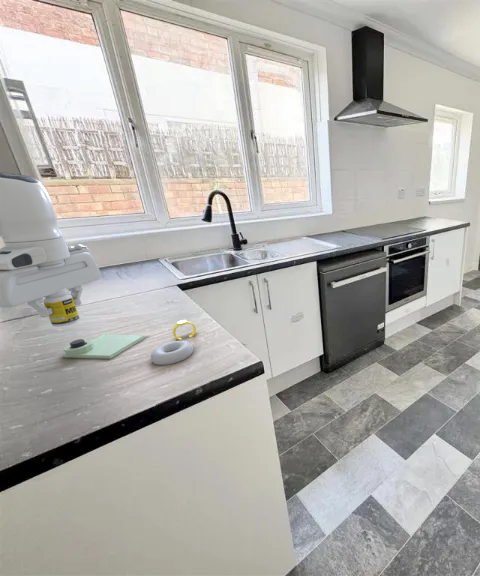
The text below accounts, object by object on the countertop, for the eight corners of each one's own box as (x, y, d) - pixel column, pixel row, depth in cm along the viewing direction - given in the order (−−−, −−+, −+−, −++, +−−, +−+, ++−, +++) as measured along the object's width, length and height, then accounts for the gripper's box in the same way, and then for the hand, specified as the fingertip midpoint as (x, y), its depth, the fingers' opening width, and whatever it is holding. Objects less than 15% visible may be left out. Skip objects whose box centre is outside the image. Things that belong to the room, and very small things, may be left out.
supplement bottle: (73, 325, 71) (60, 291, 68) (47, 328, 70) (33, 293, 67) (84, 317, 75) (73, 284, 73) (60, 320, 74) (47, 287, 71)
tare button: (68, 348, 87) (66, 344, 87) (79, 343, 90) (77, 338, 89) (78, 349, 87) (76, 344, 86) (88, 343, 90) (87, 339, 89)
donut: (185, 365, 83) (199, 346, 92) (182, 354, 82) (197, 336, 91) (144, 370, 81) (163, 350, 91) (141, 358, 80) (160, 339, 89)
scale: (61, 359, 87) (57, 350, 86) (102, 338, 98) (99, 329, 97) (109, 360, 86) (106, 351, 85) (145, 339, 97) (142, 330, 96)
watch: (195, 333, 100) (191, 317, 98) (198, 336, 99) (194, 319, 97) (174, 340, 96) (169, 323, 94) (177, 343, 94) (172, 326, 93)
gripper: (75, 243, 77) (92, 294, 82) (-36, 263, 58) (-6, 329, 62) (98, 243, 77) (115, 295, 81) (-6, 263, 57) (22, 330, 62)
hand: (61, 310), depth 72 cm, fingers closed on supplement bottle, 5 cm apart
